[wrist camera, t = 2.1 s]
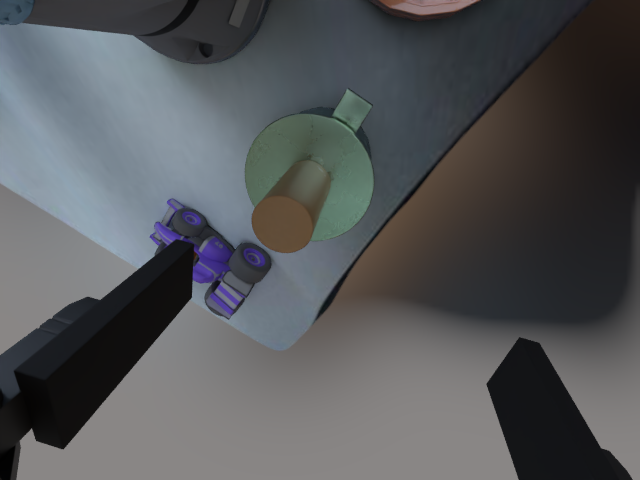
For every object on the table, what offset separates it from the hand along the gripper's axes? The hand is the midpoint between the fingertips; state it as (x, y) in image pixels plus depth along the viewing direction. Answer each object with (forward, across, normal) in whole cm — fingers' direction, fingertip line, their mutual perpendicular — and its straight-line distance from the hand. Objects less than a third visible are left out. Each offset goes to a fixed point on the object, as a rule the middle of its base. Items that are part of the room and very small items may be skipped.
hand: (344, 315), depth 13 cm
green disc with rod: (+17, -5, -1) cm, 18 cm away
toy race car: (+26, -17, -16) cm, 35 cm away
